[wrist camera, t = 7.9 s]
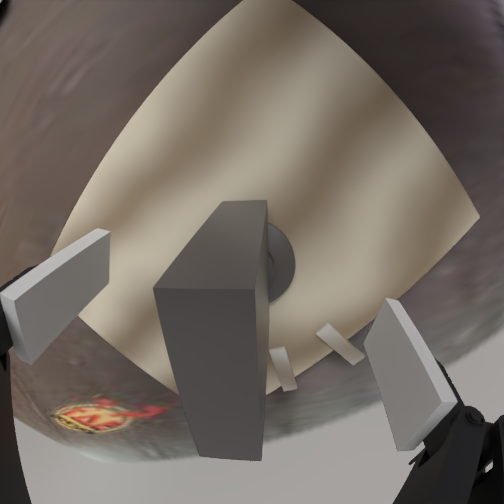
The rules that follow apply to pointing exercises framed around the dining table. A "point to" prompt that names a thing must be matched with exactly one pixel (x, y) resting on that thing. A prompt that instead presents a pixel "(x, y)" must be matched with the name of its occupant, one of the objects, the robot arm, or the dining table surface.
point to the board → (272, 187)
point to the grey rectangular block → (221, 329)
